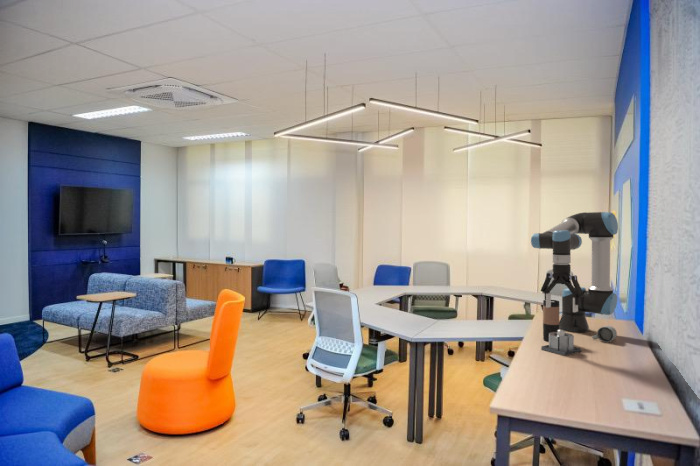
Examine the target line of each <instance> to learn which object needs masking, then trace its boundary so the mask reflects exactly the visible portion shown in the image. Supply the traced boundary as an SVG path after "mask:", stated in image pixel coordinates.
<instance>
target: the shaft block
mask: <svg viewBox="0 0 700 466" xmlns="http://www.w3.org/2000/svg"><path fill="white" fill-rule="evenodd" d="M565 333H566V331H565V330H561V329H559V330H557V335H558V336H565ZM540 347H541V348H540V350H541V351H545V352H549V353H553V354H557V355H560V356H565V357H566V356H570V355H573V354H577V352H578V353H581V352H582V349H581V348H580V347H576V346H574V349H573V350H556V349H552V348H550V347H549V344H545V345H542V346H540Z"/></svg>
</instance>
